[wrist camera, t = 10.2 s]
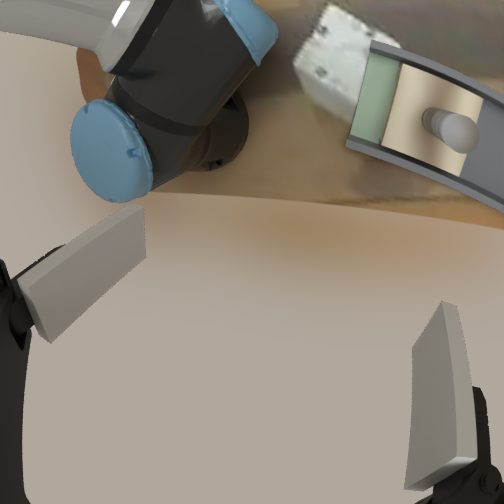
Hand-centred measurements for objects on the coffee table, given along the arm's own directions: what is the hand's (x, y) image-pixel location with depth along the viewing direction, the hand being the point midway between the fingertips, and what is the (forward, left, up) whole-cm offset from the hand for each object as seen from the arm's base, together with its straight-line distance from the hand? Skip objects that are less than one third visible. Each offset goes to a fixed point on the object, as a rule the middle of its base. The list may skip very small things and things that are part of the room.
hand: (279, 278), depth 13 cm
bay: (+15, +7, -34) cm, 38 cm away
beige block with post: (+9, +7, -33) cm, 35 cm away
